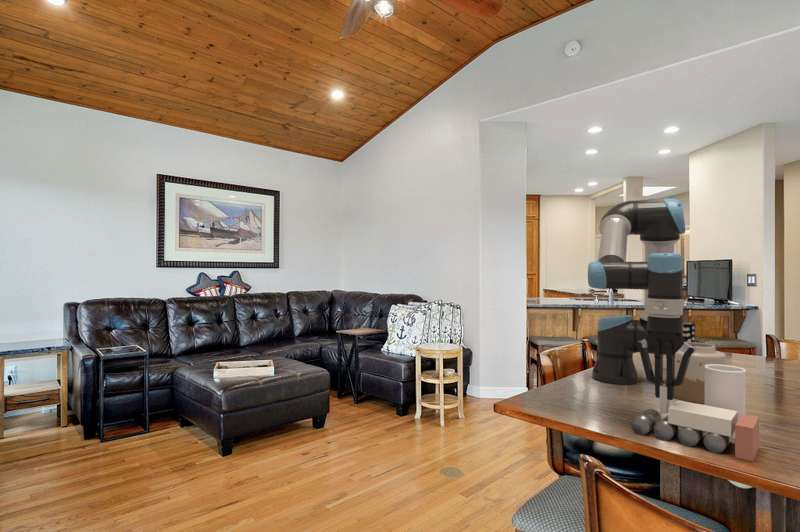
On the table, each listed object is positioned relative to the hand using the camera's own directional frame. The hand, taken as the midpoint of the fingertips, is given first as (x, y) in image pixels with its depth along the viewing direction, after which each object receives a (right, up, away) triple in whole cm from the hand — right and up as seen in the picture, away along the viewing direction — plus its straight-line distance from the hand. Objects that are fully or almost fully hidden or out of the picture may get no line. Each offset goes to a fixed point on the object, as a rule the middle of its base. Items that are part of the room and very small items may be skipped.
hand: (664, 411), depth 110 cm
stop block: (+11, -5, -11) cm, 17 cm away
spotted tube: (+42, -6, +60) cm, 73 cm away
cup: (+15, -6, +1) cm, 16 cm away
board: (+6, -1, -6) cm, 8 cm away
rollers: (+2, -5, -3) cm, 6 cm away
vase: (+28, -6, +31) cm, 43 cm away
